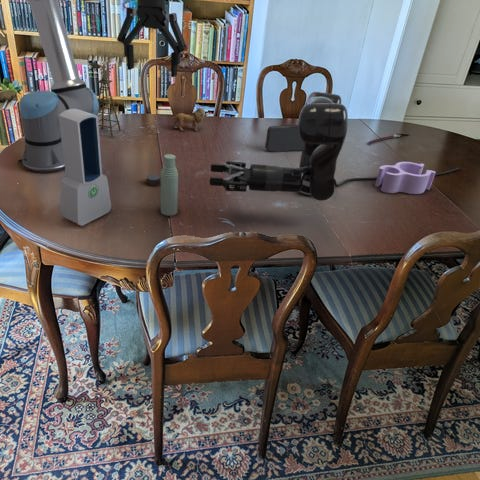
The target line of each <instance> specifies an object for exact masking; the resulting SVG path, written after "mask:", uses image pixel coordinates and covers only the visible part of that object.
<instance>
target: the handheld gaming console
mask: <svg viewBox="0 0 480 480" xmlns="http://www.w3.org/2000/svg"><path fill="white" fill-rule="evenodd" d="M303 143H304V142H303V141H302V140H301V138H300V136H299V131H298V124H292V125H291V124H290V125H289V124H286V125H285V124H284V125H283V124H281V125H270V126H268V127H267V130H266V139H265V145H264V146H265V150H267V151H268V152H289V151H290V152H292V151H294V152H295V151H302V149H303Z"/></svg>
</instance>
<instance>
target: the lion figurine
mask: <svg viewBox="0 0 480 480" xmlns="http://www.w3.org/2000/svg"><path fill="white" fill-rule="evenodd" d="M205 116H206V113H205V109H204V108H203V107H199V108H196V110H195V111H193V112H192V113H190V114H186V113H182V112H181V113H177V114H176V115H175V117H174V120H173V122H172V123H173V124H172V126H171V127H170V129H173V128H174V129H178V128H179V130H180V131H182V132H183V131H184V128H182V125H183V122H184V123H186V124H191V128H192V129H193V130H194V131H195V132H197V131H198V129H197V127H198V124H200V123H202V121H203V120H204V118H205ZM177 125H178V127H177Z"/></svg>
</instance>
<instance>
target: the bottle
mask: <svg viewBox="0 0 480 480" xmlns="http://www.w3.org/2000/svg"><path fill="white" fill-rule="evenodd" d="M178 202H179V172H178V169H177V166H176V155H174V154H170V153H168V154H167V153H166V154H165V155H164V156H163V166H162V169H161V171H160V213H161V214H162V215H163V216H167V217H168V216H169V217H170V216H175V215H176V214H178V205H179V204H178Z"/></svg>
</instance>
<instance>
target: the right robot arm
mask: <svg viewBox="0 0 480 480" xmlns="http://www.w3.org/2000/svg"><path fill="white" fill-rule="evenodd" d="M348 115H349V114H348V109H347V107H346V105H344V104H342V97H341V95H339V94H335V93H328V92H321V91H312V92H311V93H309V94H308V97H307V98H306V100H305V104H304V105H303V107H302V108H301V109H300V112H299V116H298V120H297V121H298V122H297V125H298V131H299V136H300V138H301V140H302V141H303V142H304V143H303V149H302V150H301V156H300V161H299V167H288V166H287V167H286V166H285V167H284V166H279V165H270V164H258V163H257V164H256V163H252V164H250V168H248V167H247V163H246V162H240V161H229V160H228V161H226V162H225V163H224V164H218V163H211V165H210V172H211V173H223V174H224V173H225V174H227V175H228V176H227V177H217V176H210V177H209V185H210V186H216V187H223V188H224V190H225V191H226V192H243V193H244V192H245V193H246V192H247V191H248V190H247V189H249V190H250V191H257V192H272V193H273V192H275V193H276V192H285V193H299V194H301V195H303V196H307V197H312V199H314V200H317V201H320V202H323V201H327V200H329V199H331V197H333V196H334V194H335V187H341V186H344V185H345V184H346V183H348V182H352V181H374V180H375V181H376V180H377V177H378V176H377V177H352V178H348V179H345V180H343V181H342V182H341V183H337V180H336V179H335V173H336V170H337V161H338V158H339V155H340V154H341V151H342V149H343V146H344V144H345V141H346V137H347V133H348V125H349V116H348ZM460 169H461V167H456V169H455V168H453V169H449V170H446V171H441V172H437V173H435V176H434V177H436V176H442V175H445V174H449V173H452V172H455V171H458V170H460Z"/></svg>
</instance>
